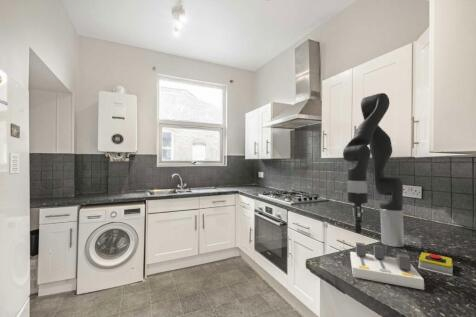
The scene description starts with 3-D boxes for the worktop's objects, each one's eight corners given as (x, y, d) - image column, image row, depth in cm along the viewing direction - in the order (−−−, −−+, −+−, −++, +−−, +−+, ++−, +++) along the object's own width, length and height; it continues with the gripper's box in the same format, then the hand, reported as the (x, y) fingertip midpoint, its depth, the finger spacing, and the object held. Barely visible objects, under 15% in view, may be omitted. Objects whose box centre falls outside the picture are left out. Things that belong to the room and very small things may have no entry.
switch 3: (397, 265, 74) (396, 253, 75) (408, 266, 73) (407, 254, 73) (399, 268, 72) (399, 256, 72) (410, 270, 70) (410, 257, 71)
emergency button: (417, 257, 81) (421, 247, 92) (417, 269, 81) (421, 258, 91) (452, 264, 74) (452, 253, 85) (452, 277, 74) (452, 265, 85)
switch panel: (350, 259, 89) (350, 251, 89) (407, 267, 81) (407, 259, 81) (353, 276, 73) (352, 267, 73) (424, 289, 65) (423, 279, 65)
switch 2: (373, 255, 84) (373, 244, 84) (383, 256, 82) (382, 245, 83) (374, 257, 81) (374, 246, 81) (384, 259, 80) (384, 248, 80)
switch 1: (356, 252, 86) (355, 242, 86) (364, 253, 85) (364, 243, 85) (356, 255, 84) (356, 244, 84) (365, 256, 82) (365, 245, 83)
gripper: (346, 190, 101) (347, 228, 99) (348, 191, 89) (349, 235, 87) (365, 191, 98) (366, 230, 96) (369, 192, 86) (370, 237, 84)
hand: (358, 232), depth 92 cm, fingers closed
